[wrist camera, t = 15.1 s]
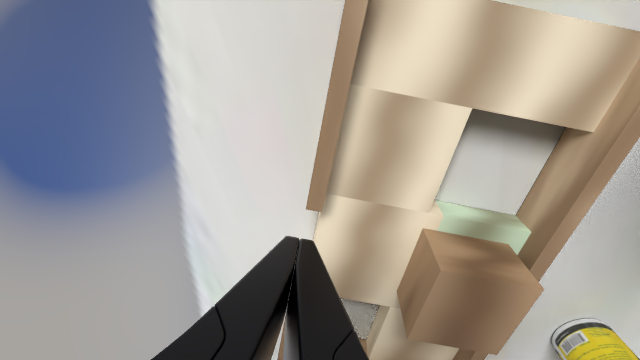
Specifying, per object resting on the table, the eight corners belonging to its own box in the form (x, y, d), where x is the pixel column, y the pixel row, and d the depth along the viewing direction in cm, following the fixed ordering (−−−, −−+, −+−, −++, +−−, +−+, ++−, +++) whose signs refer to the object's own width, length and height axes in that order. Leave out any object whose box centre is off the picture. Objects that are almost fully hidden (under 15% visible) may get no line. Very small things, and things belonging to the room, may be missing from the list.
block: (508, 244, 20) (544, 289, 17) (472, 304, 23) (496, 354, 20) (422, 228, 20) (440, 270, 17) (396, 291, 23) (407, 339, 19)
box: (637, 37, 16) (720, 39, 13) (443, 360, 29) (458, 406, 26) (349, -23, 16) (352, -38, 12) (282, 332, 29) (274, 374, 25)
